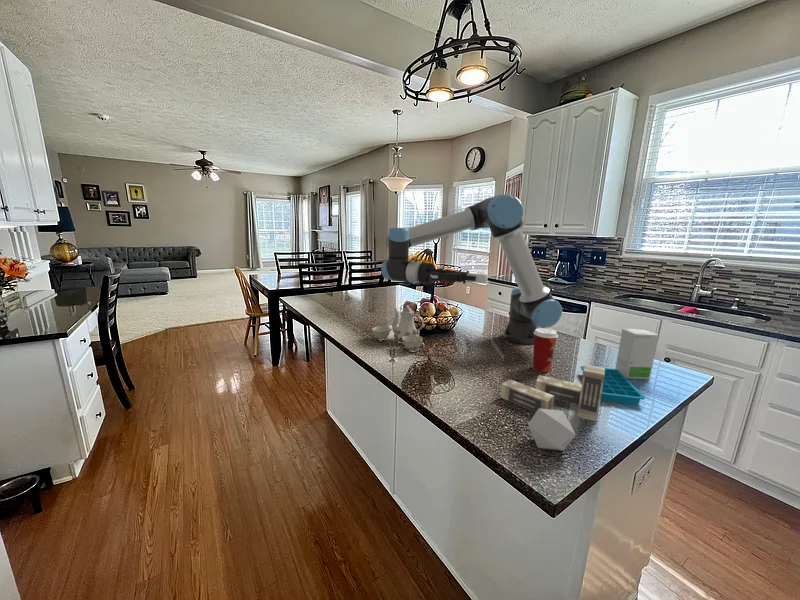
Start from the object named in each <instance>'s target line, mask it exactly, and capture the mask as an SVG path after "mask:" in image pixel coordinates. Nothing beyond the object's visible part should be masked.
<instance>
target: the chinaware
mask: <svg viewBox="0 0 800 600" xmlns="http://www.w3.org/2000/svg"><path fill="white" fill-rule="evenodd" d="M393 310H394V312H395V313H394V317H393V320H392V326H391V327H392V328H390V326H387V325H386V326H382V325H376V326H375V327H371V328H370V329H371V331H372V333H373V336H374V337H375V338H376V339H377V340H379V339H385V340H386V339H387V338H388V337H389V336H390V332H391V331H392V332H393V338H394V339H395V340H396V341H397V340H398V341H399V342H402V343H404V345H403V346H404V347H405V349H407V350H416V352H419V350H420V351H424V350H425V348H426V347H425V346H426V345H425V343H424V342H423V341H424V339H423V336H420V330H422V329H423V328H424V325H425V323H424V320H423V318H422V316H420V315H419V314H415V310H413V309H412V308H411V307H410V306H409V305H408V304H407V305H406V306H405V307H404V308H403V309H400V310H398V308H393ZM399 313H400V314H399ZM399 315H400V321H399ZM416 318H419V320H420V321H421V326H420V327H419V328H416V326H415V320H416ZM421 345H423V348H422V349H421V348H420V346H421Z"/></svg>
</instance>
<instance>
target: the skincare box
mask: <svg viewBox="0 0 800 600" xmlns="http://www.w3.org/2000/svg"><path fill="white" fill-rule="evenodd" d="M658 341H659V334H658V333H656V332H652V331H649V330H647V329H638V328H622V329H621V336H620V341H619V346H618V353H617V356H616V357H617V358H616V362H615V368H614V369H616V370H618V371H620V372H621V373H622V374H623V375H624V376H625V377H626V378H627V379H631V380H632V379H634V380H650V379H651V375H652V369H653V366H654V361H655V357H656V351H657V350H656V349H657V345H658Z"/></svg>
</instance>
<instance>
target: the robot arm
mask: <svg viewBox="0 0 800 600" xmlns="http://www.w3.org/2000/svg"><path fill="white" fill-rule="evenodd" d="M523 215H524V206H523V204H522V202H521V200H520V199H519V198H518V197H517V196H515V195H512V194H509V193H508V194H505V193H503V194H498V195H494V196H492V197H491V196H490V197H488V198H485V199H484V200H481V201H479V202H477V203H475V204H473V205H470V206H469V205H468V206H467V207H465V208H464V210H462V211H459V212H456V213H452V214H449V215H446V216H443V217H439V218H437V219H433V220H430V221H426V222H424V223H420V224H418V225H415V226H410V227H408V228H407V227H389V229H388V234H387V236H386V239H385V245H386V247H387V248H388V250H387V251H388V257H387V259H385V260H384V261H383V262H382V266H381V267H380V269H381V271H380V272H381V275H382V277H383V278H384V279H385V280H390V281H393V282H394V281H395V282H405V283H412V285H415V284H423V285H431V284H432V283H433V282H434V281H435V282H438V281H440V282H456V283H462V284H463V285H465V284H466V282H467V283H476V284H477V283H478V284H483V285H484V284H485V285H486V284H488V278H489V277H488V276H489V275H488V274H484V273H483V274H482V273H471V272H470V271H469V270H466V271H459V270H451V269H448V268H447V269H445V268H441V267H438V268H435V265H434V264H433V263H431V262H423V261H412V260H411V261H410V260H409V253H410V252H409V250H410V248H413V247H415V246H419V245H422V244H425V243H429V242H431V241H434V240H439V239H441V238H444V237H448V236H451V235H454V234H458V233H460V232H463V231H467V230H470V231H476V230H479V229H489V231H490V232H491V235H492V237H493V238H494V239H496V240H498V241H499V243H500V245H501V246H500V247H501V248H502V250H503V253H504V255H505V258H506V260H507V263H508V265H509V267H510V269H511V272H512V274H513V275H512V276H513V277H514V279H515V282H516V284H517V286H518V287H514V288H512V290H511V293H510V304H509V315H508V322H507V324H506V326H505V328H504V330H503V334H502V335H503V336H502V337H503V338H504V339H505V340H507V341H508V342H512V343H516V344H520V345H521V344H522V345H534V332H535V329H537V328H547V329H549V328H551V327H553V326H555V325H556V324H558V322H559V321H560V319H561V318H562V315H563V307H562V305H561V304H560V302H559V301H558V300H557V299H554V298H553V295H552V293H551V292H552V291H551V290H550V288H549V287H547V286H545V285H544V284H543V282H542V279H541V276H540V274H539V271H538V269H537V267H536V263H535V261H534V258H533V256H532V254H531V251H530V248H529V246H528V243H527V241H526V238H525V236H524V233H523V228H524V226H525V224H524V223H525V222H524V220H523Z"/></svg>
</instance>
